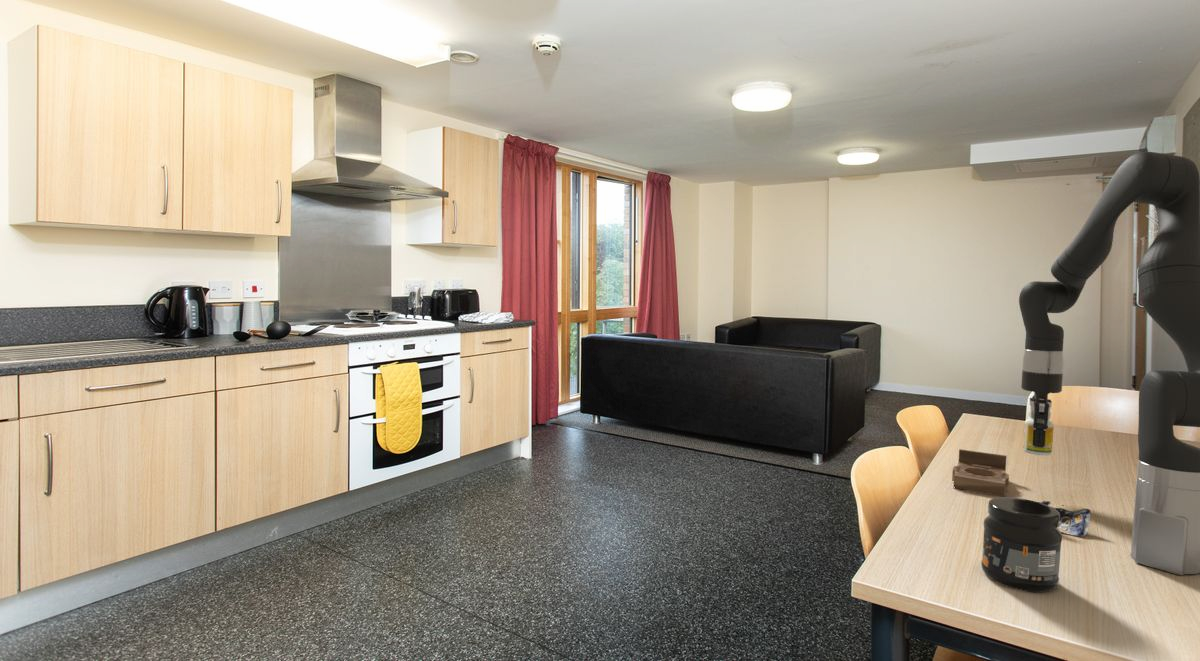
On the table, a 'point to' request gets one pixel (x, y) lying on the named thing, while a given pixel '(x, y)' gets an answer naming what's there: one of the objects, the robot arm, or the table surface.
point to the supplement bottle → (1028, 438)
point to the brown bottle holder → (981, 472)
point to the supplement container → (1022, 544)
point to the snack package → (1073, 520)
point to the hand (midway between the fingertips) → (1037, 444)
